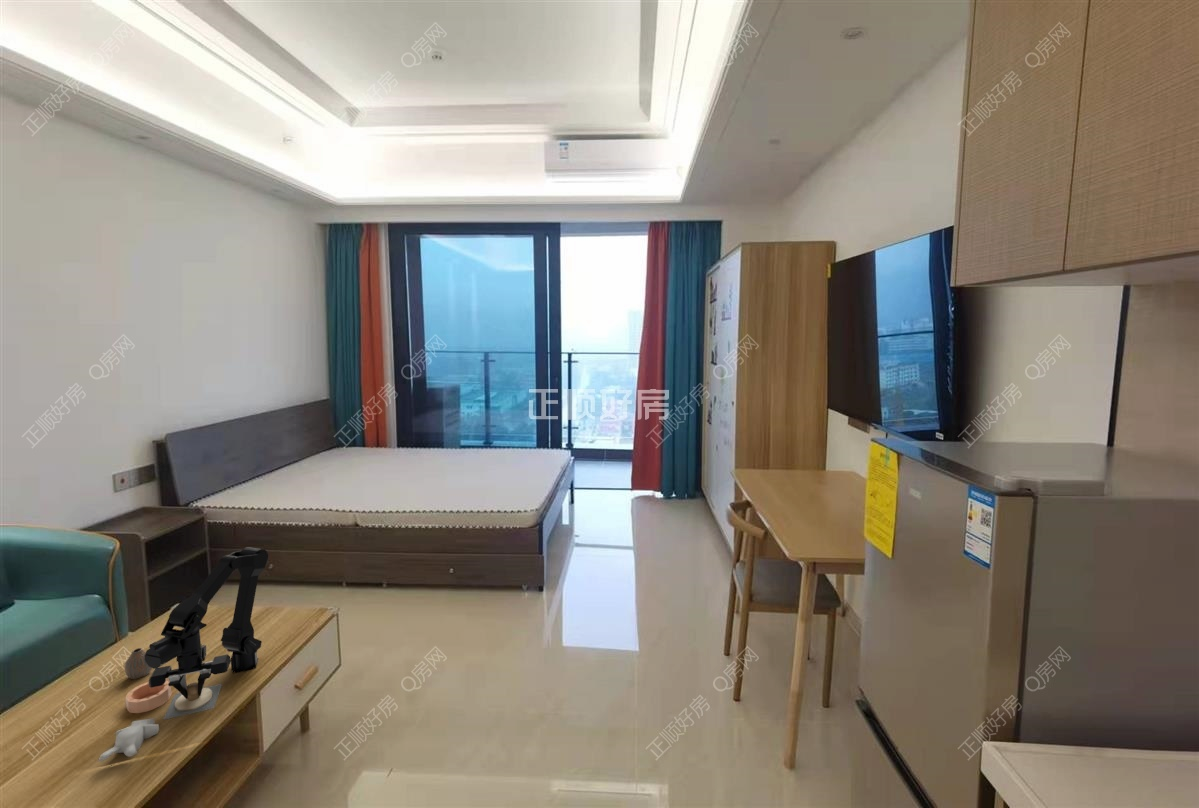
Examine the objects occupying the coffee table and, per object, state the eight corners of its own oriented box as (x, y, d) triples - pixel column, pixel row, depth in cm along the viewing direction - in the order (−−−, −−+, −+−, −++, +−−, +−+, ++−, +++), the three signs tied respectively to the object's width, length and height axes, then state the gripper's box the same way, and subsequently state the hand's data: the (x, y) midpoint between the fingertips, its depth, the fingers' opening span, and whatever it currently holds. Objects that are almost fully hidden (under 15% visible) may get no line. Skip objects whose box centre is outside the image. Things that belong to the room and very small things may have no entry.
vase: (137, 683, 171) (134, 657, 170) (120, 680, 173) (116, 655, 172) (159, 670, 178) (156, 645, 177) (142, 667, 180) (139, 642, 178)
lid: (215, 687, 169) (214, 672, 168) (208, 706, 161) (207, 690, 160) (179, 695, 165) (178, 680, 165) (171, 714, 157) (169, 698, 157)
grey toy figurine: (166, 710, 154) (137, 743, 140) (166, 728, 154) (138, 763, 140) (125, 716, 152) (92, 750, 137) (126, 734, 152) (93, 770, 137)
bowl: (175, 688, 170) (174, 676, 169) (165, 709, 161) (163, 696, 160) (134, 696, 165) (133, 684, 165) (122, 718, 156) (120, 705, 156)
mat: (222, 685, 171) (222, 683, 171) (213, 710, 160) (213, 708, 160) (175, 695, 166) (175, 693, 166) (163, 721, 156) (162, 719, 155)
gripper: (231, 627, 172) (235, 673, 174) (158, 640, 164) (163, 688, 167) (224, 646, 162) (228, 694, 164) (145, 661, 154) (151, 711, 157)
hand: (193, 696), depth 163 cm, fingers closed on lid, 3 cm apart
